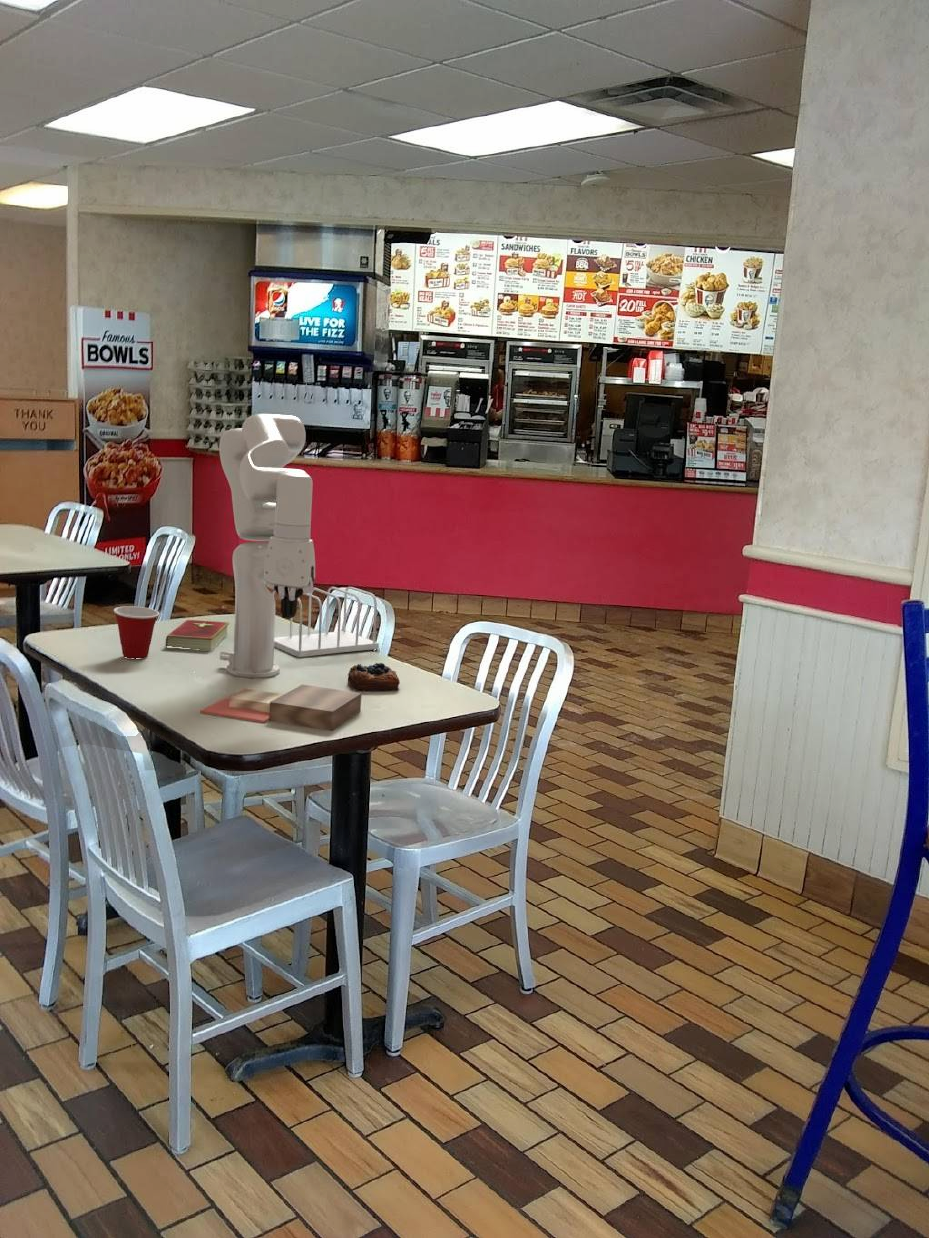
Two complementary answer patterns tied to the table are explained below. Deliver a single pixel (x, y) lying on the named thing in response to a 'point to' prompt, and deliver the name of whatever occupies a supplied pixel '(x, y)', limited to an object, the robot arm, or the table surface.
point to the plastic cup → (135, 630)
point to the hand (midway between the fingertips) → (288, 617)
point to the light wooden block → (253, 700)
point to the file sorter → (328, 640)
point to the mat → (235, 711)
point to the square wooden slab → (315, 707)
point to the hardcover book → (197, 634)
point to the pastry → (373, 678)
